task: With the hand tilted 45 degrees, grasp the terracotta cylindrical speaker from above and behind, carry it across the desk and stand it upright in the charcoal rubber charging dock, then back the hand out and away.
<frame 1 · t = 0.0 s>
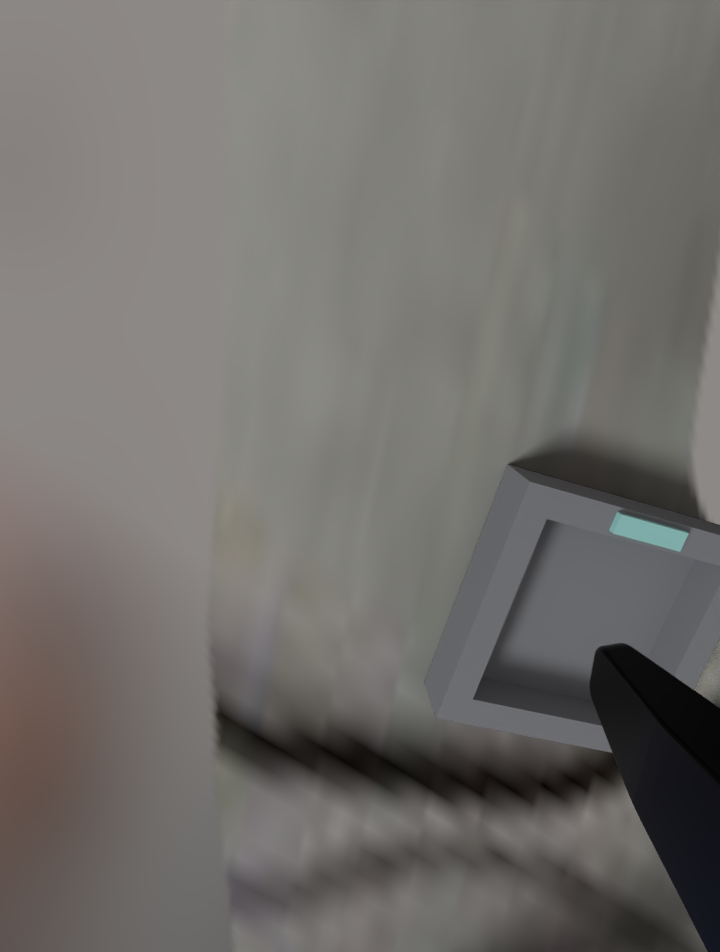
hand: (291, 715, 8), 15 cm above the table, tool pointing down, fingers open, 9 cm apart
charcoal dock: (572, 605, 27), on the table
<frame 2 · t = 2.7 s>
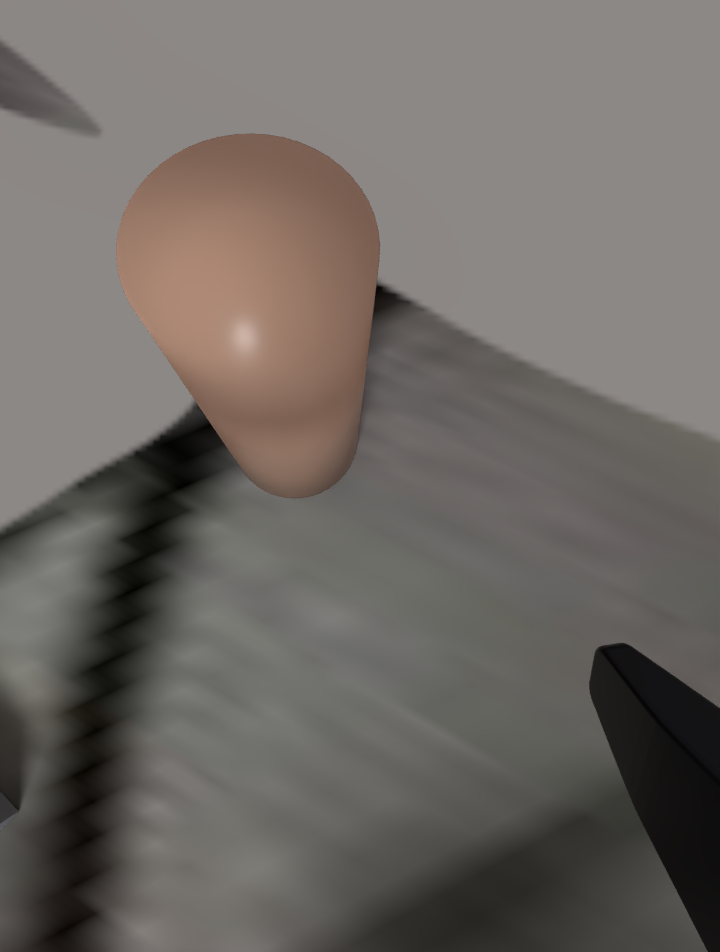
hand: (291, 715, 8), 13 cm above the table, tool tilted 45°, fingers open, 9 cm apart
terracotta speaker: (295, 437, 23), on the table
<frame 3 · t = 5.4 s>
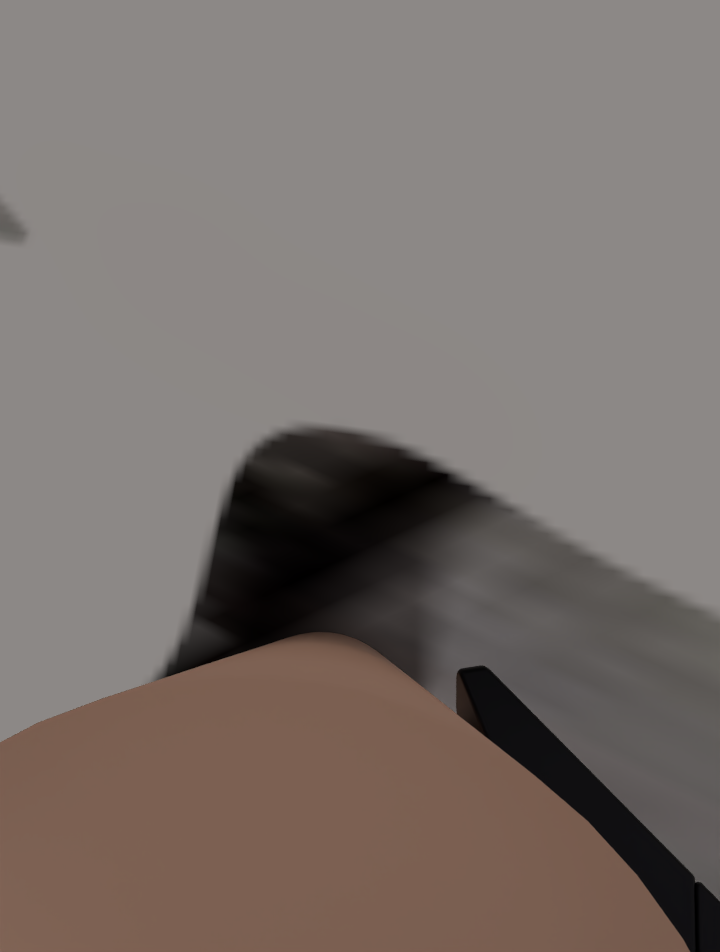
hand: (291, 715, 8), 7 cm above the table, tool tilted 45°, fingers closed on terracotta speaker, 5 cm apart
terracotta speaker: (319, 733, 15), on the table, touching gripper
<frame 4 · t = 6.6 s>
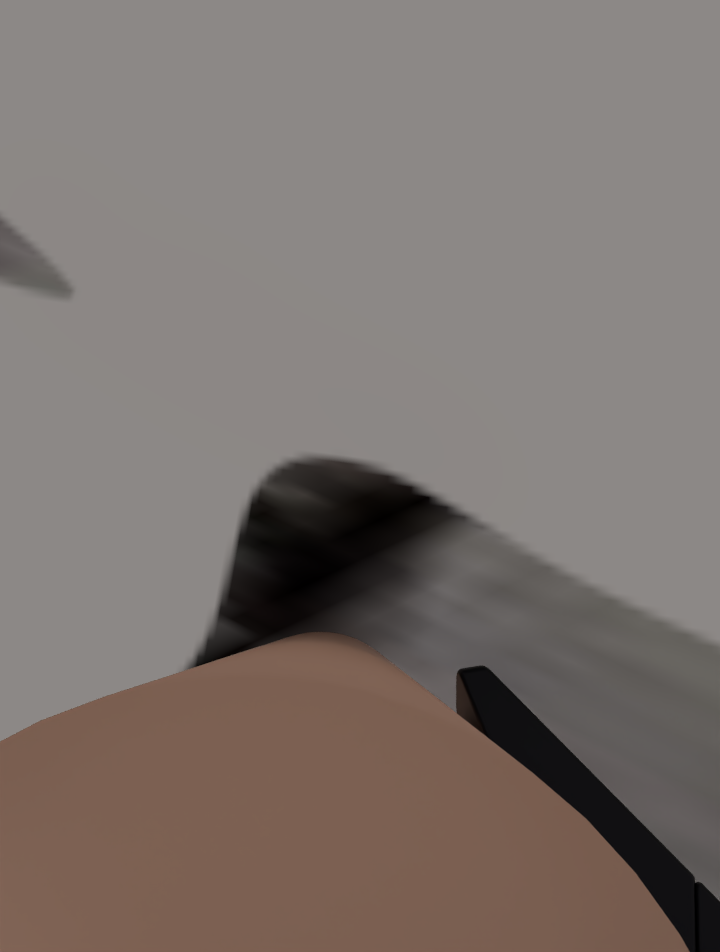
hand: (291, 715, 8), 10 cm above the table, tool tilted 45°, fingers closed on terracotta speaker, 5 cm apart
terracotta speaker: (318, 733, 15), point 3 cm above the table, touching gripper
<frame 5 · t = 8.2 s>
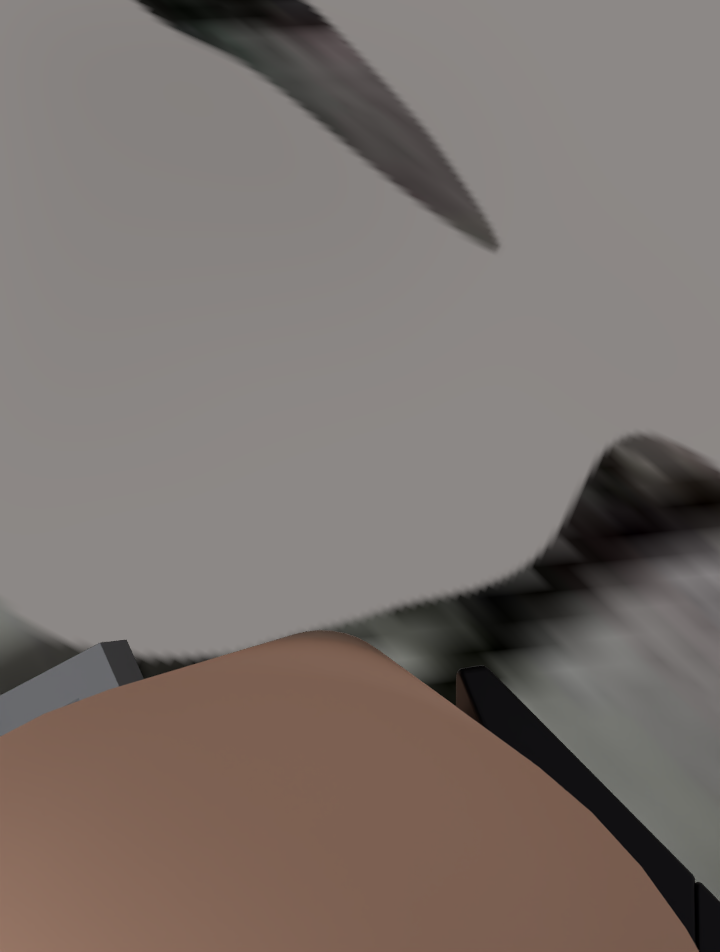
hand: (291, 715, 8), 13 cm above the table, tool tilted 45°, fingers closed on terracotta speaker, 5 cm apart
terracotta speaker: (319, 731, 15), point 6 cm above the table, touching gripper
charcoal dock: (39, 871, 19), on the table
when the fingers open (8 cm above the table, at t = 10.7 s): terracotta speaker drops 1 cm, resting on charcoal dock.
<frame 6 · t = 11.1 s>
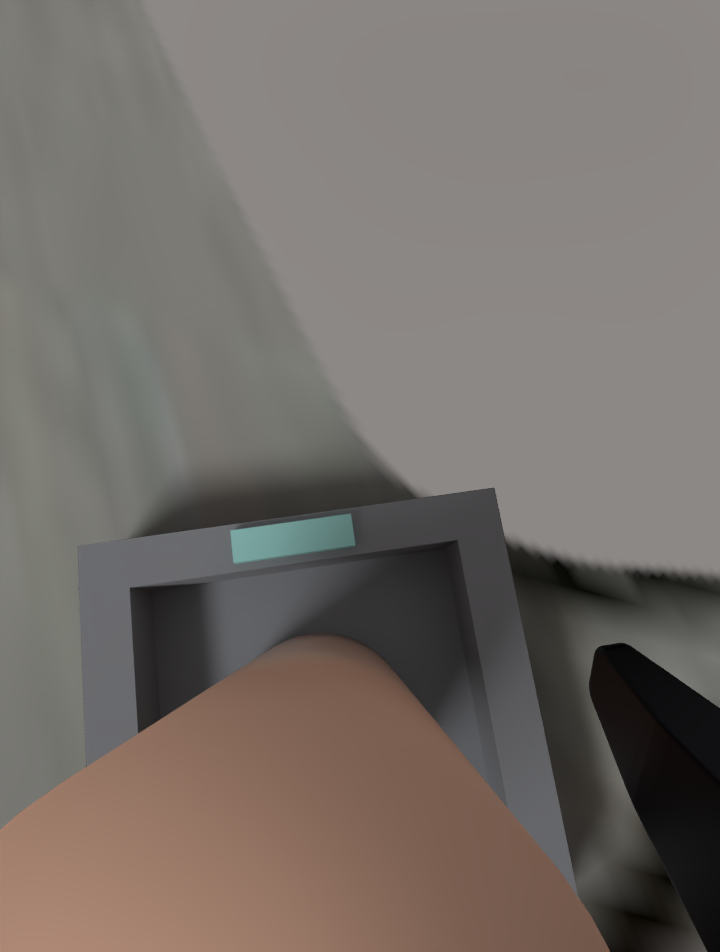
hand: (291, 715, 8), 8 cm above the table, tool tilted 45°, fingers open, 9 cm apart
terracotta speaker: (320, 727, 16), point 1 cm above the table, touching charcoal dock
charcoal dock: (321, 721, 16), on the table
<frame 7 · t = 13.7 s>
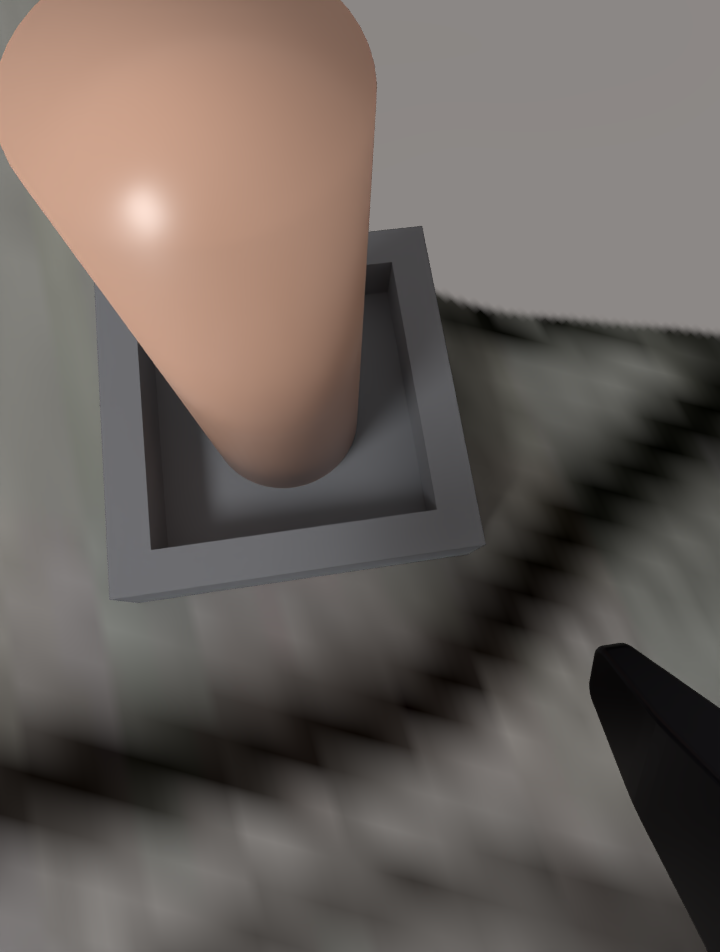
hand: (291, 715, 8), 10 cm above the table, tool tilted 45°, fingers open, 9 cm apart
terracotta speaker: (284, 417, 20), point 1 cm above the table, touching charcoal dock
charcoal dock: (286, 422, 20), on the table
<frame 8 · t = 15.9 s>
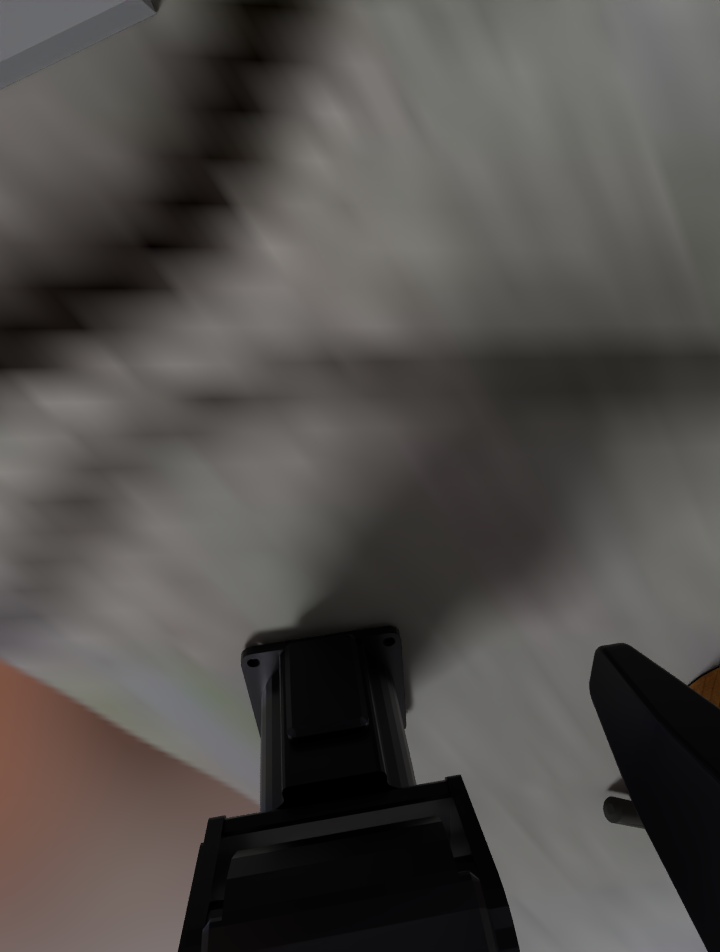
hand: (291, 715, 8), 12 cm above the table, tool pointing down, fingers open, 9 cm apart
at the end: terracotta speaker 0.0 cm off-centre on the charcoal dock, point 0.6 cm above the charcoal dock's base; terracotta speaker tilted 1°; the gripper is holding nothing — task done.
